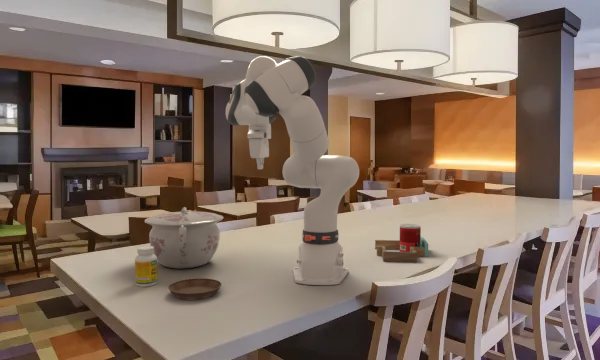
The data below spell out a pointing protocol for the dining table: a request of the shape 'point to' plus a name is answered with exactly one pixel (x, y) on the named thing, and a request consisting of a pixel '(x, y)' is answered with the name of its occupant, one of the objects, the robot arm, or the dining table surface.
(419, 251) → the brown wooden tray
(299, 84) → the robot arm
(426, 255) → the end stop
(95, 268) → the dining table surface
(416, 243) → the canned food
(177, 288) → the saucer
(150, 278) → the supplement bottle
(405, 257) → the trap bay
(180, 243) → the chamber pot
